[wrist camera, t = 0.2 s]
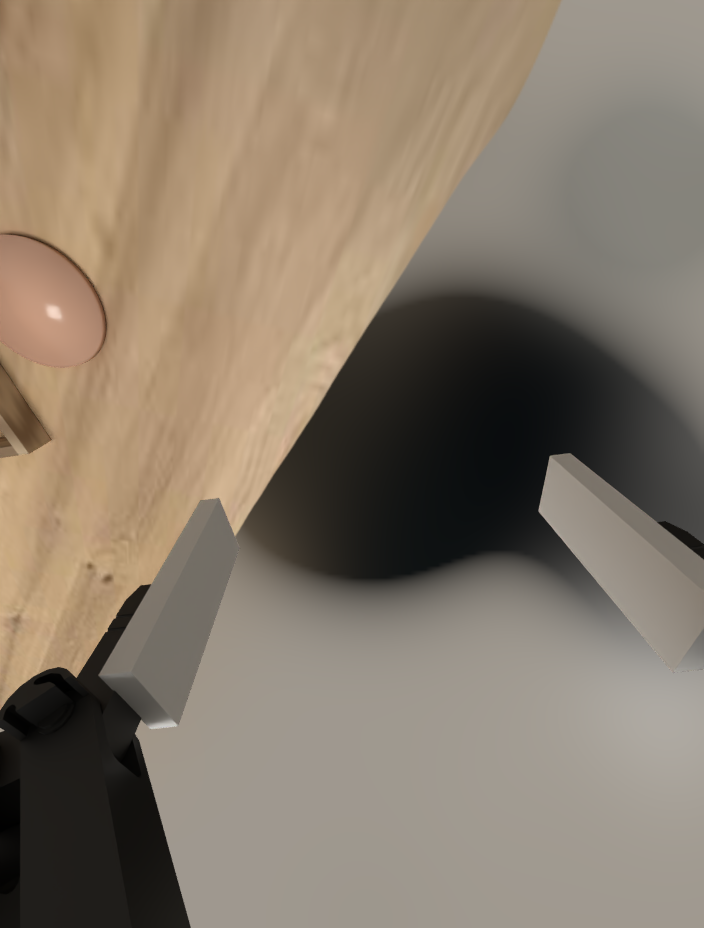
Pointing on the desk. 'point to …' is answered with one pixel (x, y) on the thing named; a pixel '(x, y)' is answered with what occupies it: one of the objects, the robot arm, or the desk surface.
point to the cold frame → (17, 422)
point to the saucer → (47, 305)
